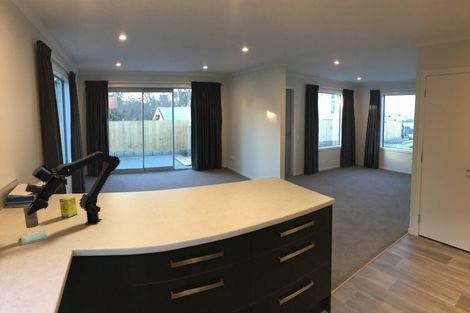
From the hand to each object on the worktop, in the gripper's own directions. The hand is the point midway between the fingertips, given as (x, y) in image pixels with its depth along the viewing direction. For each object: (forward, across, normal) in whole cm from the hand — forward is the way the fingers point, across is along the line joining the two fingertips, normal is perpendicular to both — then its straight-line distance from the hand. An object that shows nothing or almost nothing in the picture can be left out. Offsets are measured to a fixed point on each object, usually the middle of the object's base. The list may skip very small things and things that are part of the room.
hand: (27, 213), depth 146 cm
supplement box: (-5, -24, +23) cm, 33 cm away
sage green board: (+8, 0, +10) cm, 13 cm away
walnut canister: (+4, 0, +6) cm, 7 cm away
